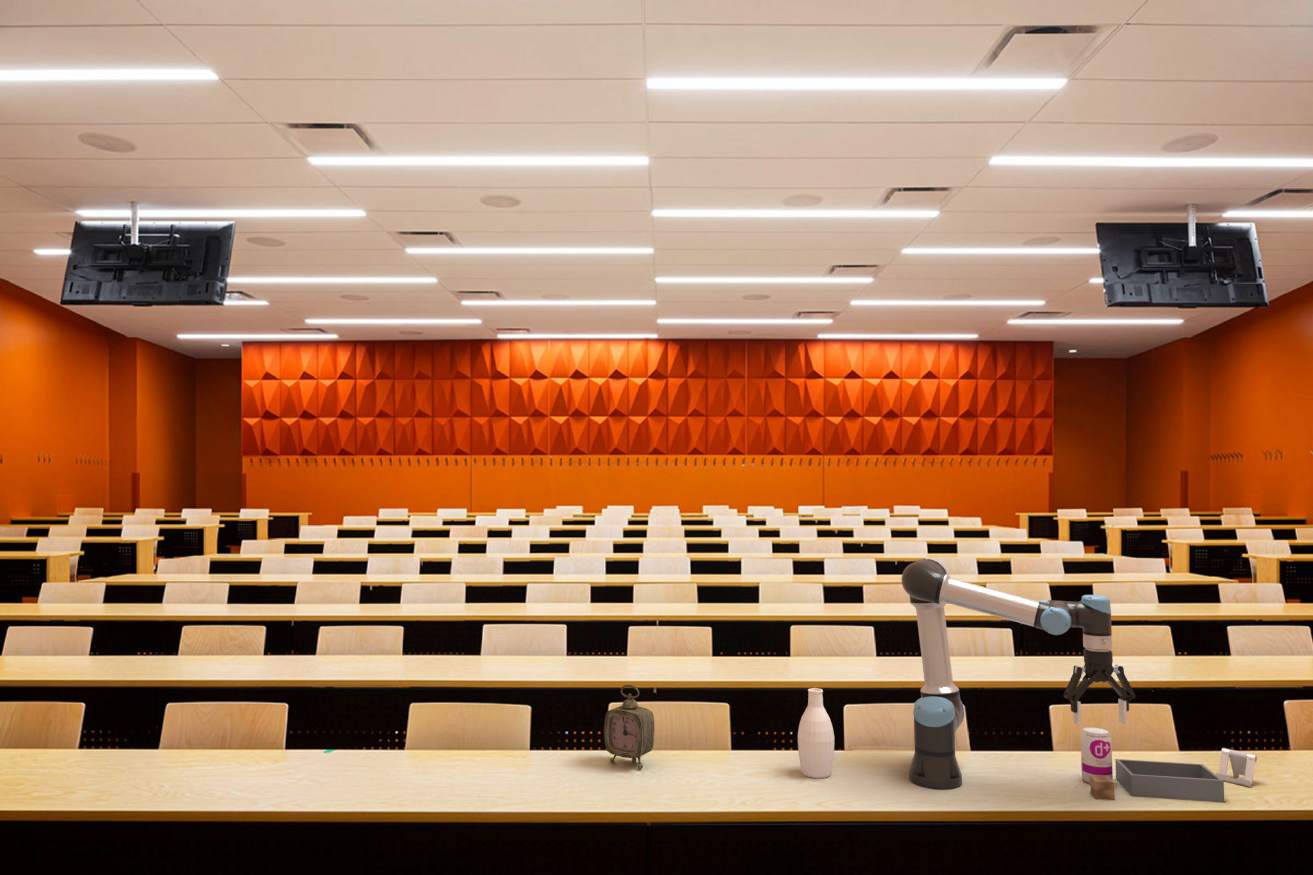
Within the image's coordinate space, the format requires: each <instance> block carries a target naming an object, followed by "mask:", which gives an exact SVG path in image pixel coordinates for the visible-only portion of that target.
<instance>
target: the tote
mask: <svg viewBox="0 0 1313 875" xmlns="http://www.w3.org/2000/svg"><path fill="white" fill-rule="evenodd" d="M1114 760H1115V761H1114V762H1115V779H1116V780H1117V781H1118V782H1119V784H1120V785H1121V786H1122V787H1123V789H1125V790H1126V792H1128V793H1129V795H1130V796H1131V797H1144V798H1159V799H1174V800H1175V799H1176V800H1185V801H1187V800H1189V801H1203V802H1217V803H1218V802H1220V803H1225V781H1223V780H1222V779H1221V778H1219V777H1218V776H1217V775H1216V773H1215V772H1214V771H1212V770H1211V769H1209V768H1208V766H1207V767H1206V765H1204V764H1202V763H1192V762H1191V763H1189V762H1187V763H1186V762H1173V761H1170V762H1169V761H1157V760H1156V761H1154V760H1140V759H1139V760H1136V759H1123V758H1122V759H1120V758H1115V759H1114Z"/></svg>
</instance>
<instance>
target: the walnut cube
mask: <svg viewBox="0 0 1313 875" xmlns="http://www.w3.org/2000/svg"><path fill="white" fill-rule="evenodd" d="M1089 784H1090V786H1089V787H1090V794H1091V795H1092V797H1093V798H1094V799H1095V800H1103V801H1116V790H1115V788H1116V787H1115V781H1114V779H1113V780H1112V779H1111V778H1110V777H1107V776H1091V775H1090V783H1089Z"/></svg>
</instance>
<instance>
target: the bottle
mask: <svg viewBox="0 0 1313 875" xmlns="http://www.w3.org/2000/svg"><path fill="white" fill-rule="evenodd" d="M807 691H808V694H807V696H808V698H807V700H808V701H807V706H806V708H805V710H804V712H803V714H802V716H801V718H800V721H799V725H798V732H797V750H798V758H799V759H798V760H799V765H800V770H801V773H802V774H803V775H804V776H805V777H807V778H810V777H812V779H826V778H829V777H831V775H832V772H833V768H834V767H833V766H834V759H835V734H834V728H833V723H832V721H831V718H830V716H829V714H828V713H827V710H826V708H825V706H824V697H823V693H824V691H823V689H822V688H817V687H812V688H808V689H807Z"/></svg>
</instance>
